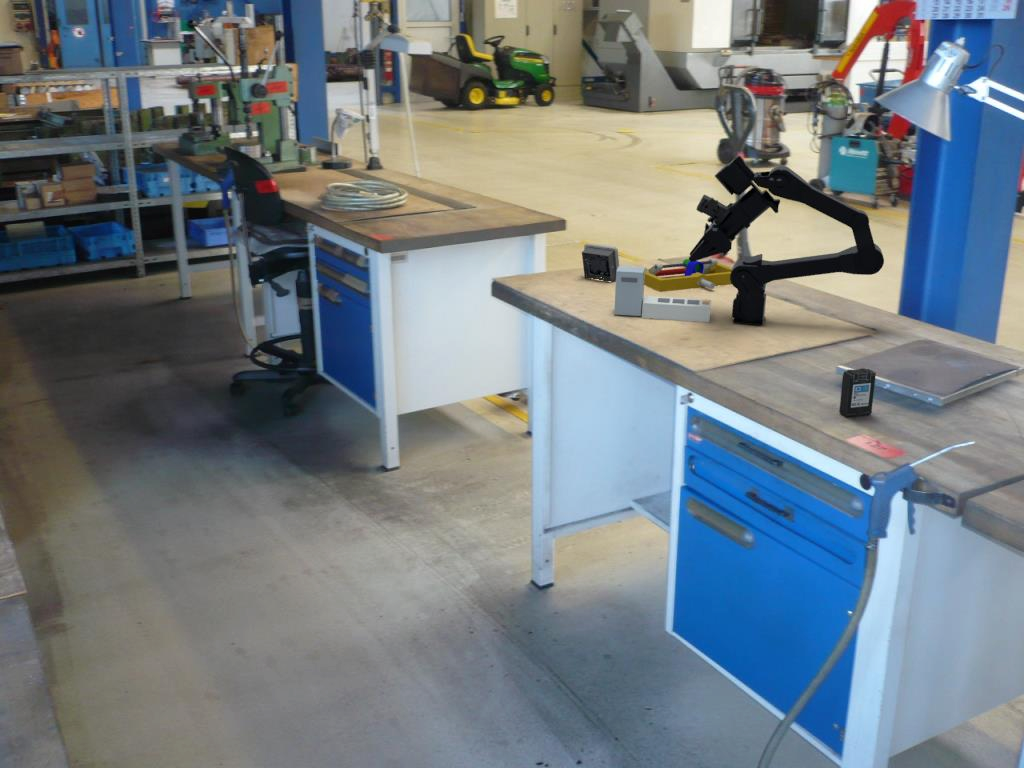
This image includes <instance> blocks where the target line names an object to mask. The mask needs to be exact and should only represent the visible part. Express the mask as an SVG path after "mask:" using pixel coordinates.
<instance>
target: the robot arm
mask: <svg viewBox="0 0 1024 768" xmlns="http://www.w3.org/2000/svg"><path fill="white" fill-rule="evenodd" d="M714 178H715V179H716V180H717V181H718V182H719V183H720V184H721V185H722V187H723V188H724V189H725V190H726V191H727V192H728V193H729V194H730V195H731V196H733V195H736V196H740V195H742V194H743V193H744V192H746V190H748V189H749V188H750V187H751V188H750V189H749V190H748V191H747V192H746V193H744V194H743V195H742V196H741V197H740V198H738V200H736V201H735V202H730V203H729V204H727V205H725V204H723V203H721V202H720V201H719V200H718V199H717V200H716V199H715V198H714V197H710V196H708V195H706V194H703V195H702V197H701V199H700V201H699V203H698V204H697V206H696V211H697V212H699V213H700V214H705V215H707V216H709V217H708V218H707V222H708V223H710V224H708V223H707V222H706V223H705V224H704V225H705V226H704V232H703V235H702V236H701V238H700V239H699V241H698V242H697V243H696V244H695V246H694V247H693V248H692V250H691V251H690V253H689V257H688V259H689V260H690V261H691V262H694V261H700V260H702V259H706V258H709V257H712V256H716V255H719V254H723V255H724V256H725V255H727V254H728V253H729V252H730V251H732V244H733V241H734V240H735V239H736V237H737V236H738V235H739V234H740V233H742V231H744V230H745V229H746V230H747V229H749V228H750V227H751V224H752V223H753V222H755V221H756V219H758V218H759V217H761V215H762V214H763V213H766V211H767V210H768V209H771V211H773V212H774V213H775V214H778V213H779V206H780V204H781V199H779V198H782V199H785V200H789V201H793V202H797V203H802V204H803V205H806V206H808V207H810V208H812V209H813V210H815V211H817V212H820V213H821V214H822V215H823V214H824V215H826V216H827V217H828V218H829V217H830V218H831V219H834V220H835V221H837V222H839V223H841V224H843V225H845V226H847V227H849V228H850V229H851V230H852V234H853V238H854V242H855V245H854V246H851V247H848V248H845V249H843V250H841V251H838V252H833V253H826V254H825V253H824V254H819V255H817V254H816V255H810V256H804V257H803V256H802V257H796V258H789V259H780V260H773V261H772V260H766V259H765V260H764V259H763V254H762V253H759V254H756V255H752V256H747V255H744V256H743V258H742V259H738V260H737V261H735V263H734V264H733V265H732V267H731V268H732V271H731V274H730V280H731V283H732V284H731V285H732V287H734V288H735V289H737V292H736V295H735V296H736V297H735V298H733V301H732V311H731V318H732V319H733V320H732V323H734V324H742V325H754V326H763V325H764V324H765V323H764V322H765V321H766V316H765V313H766V303H767V293H765V292H766V285H767V284H768V283H771V282H773V281H778V280H779V281H780V280H786V279H787V280H788V279H794V278H795V279H796V278H803V277H812V276H818V275H819V276H820V275H828V274H834V273H844V274H850V275H851V274H852V275H858V276H859V275H863V276H869V275H874V274H877V273H879V272H880V271H881V270H882V269H883V266H884V264H885V263H884V262H885V258H884V254H883V252H882V249H881V247H880V246H879V245H877V244H876V243H875V242H874V238H873V234H872V230H871V227H870V219H869V216H868V214H867V212H866V211H865V210H861V209H857V208H856V207H854V206H852V205H850V204H847V203H846V202H844V201H841V200H840V199H838V198H836V197H834V196H832V195H830V194H828V193H826V192H824V191H822V190H820V189H819V188H816V187H815V186H813V185H811V184H810V183H808V182H807V180H805V179H804V178H803V177H802V176H800V175H799V174H798V173H796V172H795V170H793V169H791V168H790V167H788V166H785V165H778V166H776V167H774V168H772V169H771V170H769V171H759V172H758V171H757V172H754V171H753V170H752V168H750V166H749V165H748V164H747V162H746V161H745V160H744V158H743V157H742V156H741V155H738V156H736V158H734V159H733V160H731V161H730V162H729V163H726V164H725V165H724V166H723V167H721V168H720V170H718V172H716V174H715V175H714ZM758 187H759V188H758ZM761 189H765V190H763V191H762V190H761ZM772 195H774V196H776V197H779V198H777V199H776V198H774V197H773V196H772Z"/></svg>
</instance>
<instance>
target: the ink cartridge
mask: <svg viewBox="0 0 1024 768" xmlns="http://www.w3.org/2000/svg"><path fill="white" fill-rule="evenodd" d="M876 374H877V373H876V372H875V371H873V370H871V369H870V368H858V369H848V370H845V371H843V375H842V380H841V381H842V382H841V392H840V401H839V414H841V415H842V416H843V417H845V418H847V419H848V418H859V417H860V418H861V417H869V416H870V415H871V414H872V413H873V403H874V402H873V401H874V395H875V384H876Z"/></svg>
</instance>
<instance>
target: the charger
mask: <svg viewBox="0 0 1024 768" xmlns="http://www.w3.org/2000/svg"><path fill="white" fill-rule="evenodd" d="M644 280H645V267H644V266H643V267H642V266H627V265H619V267H618V269H617V271H616V280H615V289H614V290H615V292H614V293H615V294H614V314H613V315H617V316H618V315H619V316H620V315H621V316H634V317H642V307H643V301H644V298H645V296H644V295H645V294H644V293H645V285H644Z"/></svg>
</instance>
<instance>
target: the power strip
mask: <svg viewBox="0 0 1024 768" xmlns="http://www.w3.org/2000/svg"><path fill="white" fill-rule="evenodd" d="M711 307H712V299H701V298H700V299H699V298H688V297H687V298H685V297H683V298H682V297H669V296H668V297H667V296H654V295H652V296H651V295H645V296H644V298H643V307H642V314H641V319H649V318H653V319H652V320H665V321H666V320H667V321H682V322H694V321H697V322H696V323H710V322H711V321H710V317H711Z"/></svg>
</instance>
